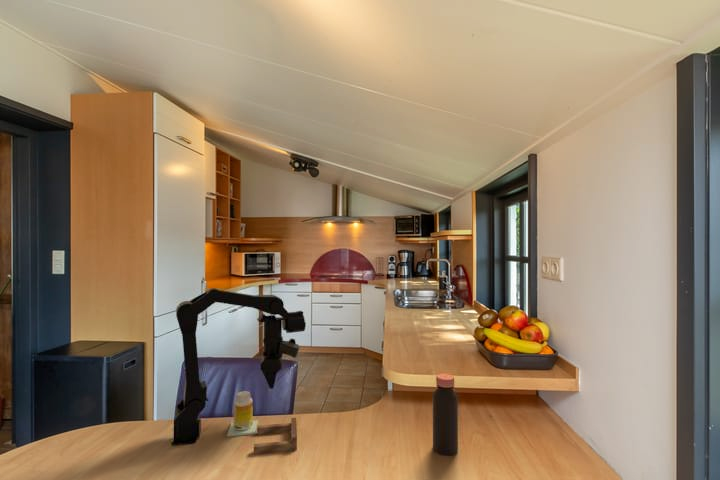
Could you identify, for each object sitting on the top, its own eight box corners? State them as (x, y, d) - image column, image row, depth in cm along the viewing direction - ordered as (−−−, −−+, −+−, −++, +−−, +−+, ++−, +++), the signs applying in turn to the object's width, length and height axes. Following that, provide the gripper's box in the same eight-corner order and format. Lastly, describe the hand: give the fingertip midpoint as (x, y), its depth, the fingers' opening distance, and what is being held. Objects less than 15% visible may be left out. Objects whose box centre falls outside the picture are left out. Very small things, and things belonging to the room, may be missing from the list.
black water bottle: (428, 445, 104) (428, 374, 105) (447, 440, 107) (447, 371, 107) (442, 458, 98) (442, 382, 98) (463, 452, 101) (462, 378, 101)
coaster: (227, 436, 109) (227, 434, 109) (231, 423, 117) (231, 422, 117) (255, 434, 110) (255, 432, 110) (257, 421, 118) (257, 419, 118)
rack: (253, 454, 100) (253, 441, 100) (257, 432, 111) (257, 420, 111) (296, 450, 102) (296, 437, 102) (296, 428, 113) (296, 417, 114)
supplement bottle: (255, 427, 113) (255, 393, 113) (237, 433, 110) (238, 398, 110) (248, 420, 117) (248, 388, 118) (230, 426, 114) (231, 392, 114)
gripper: (298, 340, 112) (298, 392, 112) (297, 327, 130) (297, 371, 130) (260, 342, 110) (260, 395, 109) (264, 328, 128) (264, 373, 128)
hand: (272, 383), depth 119 cm, fingers open, 9 cm apart
